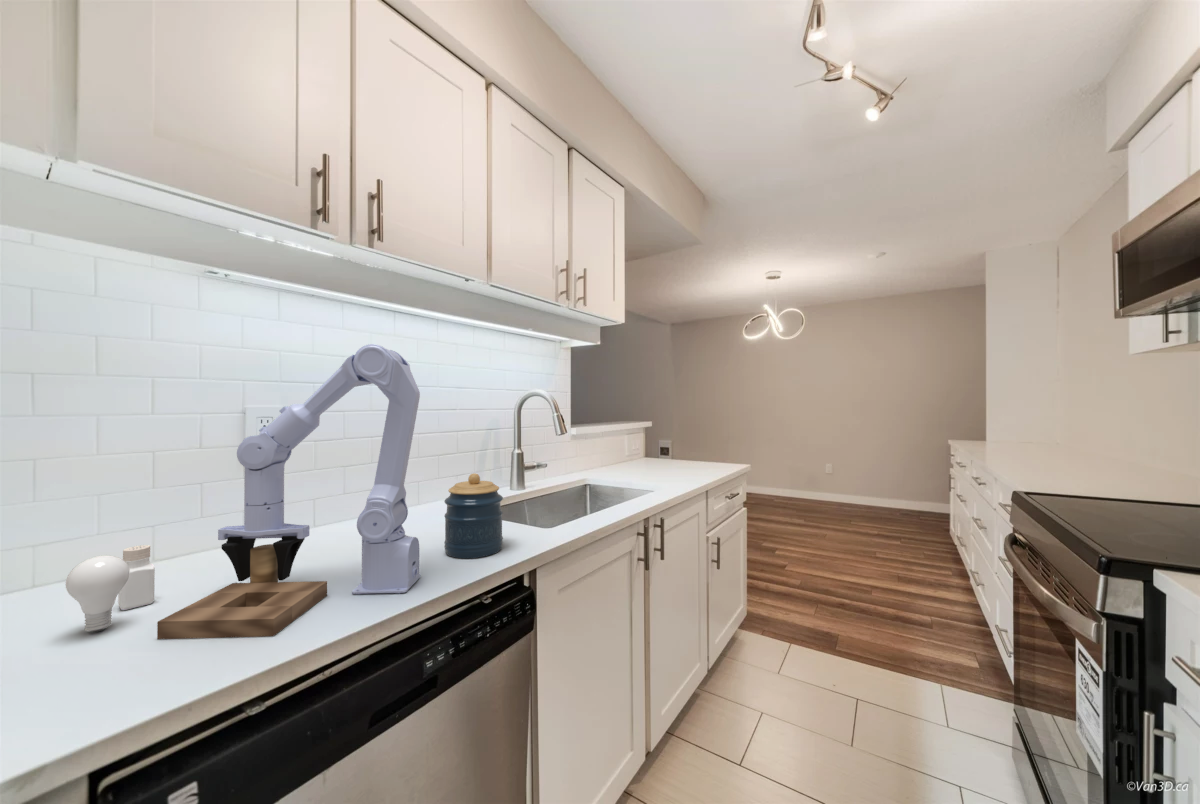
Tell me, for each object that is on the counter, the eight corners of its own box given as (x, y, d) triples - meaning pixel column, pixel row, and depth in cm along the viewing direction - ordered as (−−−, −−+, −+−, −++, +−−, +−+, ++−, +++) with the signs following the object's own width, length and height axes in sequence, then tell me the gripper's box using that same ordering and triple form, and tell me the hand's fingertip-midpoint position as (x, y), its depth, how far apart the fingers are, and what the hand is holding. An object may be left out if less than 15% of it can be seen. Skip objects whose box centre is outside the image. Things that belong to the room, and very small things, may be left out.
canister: (466, 539, 112) (466, 468, 112) (513, 544, 108) (513, 470, 108) (431, 556, 100) (432, 476, 100) (482, 562, 96) (482, 479, 96)
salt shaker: (151, 597, 78) (151, 542, 79) (154, 603, 76) (155, 547, 76) (117, 605, 75) (118, 548, 75) (120, 612, 73) (120, 553, 73)
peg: (283, 587, 83) (283, 543, 83) (268, 597, 79) (268, 550, 79) (260, 588, 82) (260, 544, 83) (244, 597, 78) (244, 551, 79)
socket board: (327, 595, 79) (327, 581, 79) (273, 636, 65) (273, 618, 65) (232, 597, 78) (232, 583, 78) (157, 639, 64) (157, 621, 64)
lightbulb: (61, 633, 66) (62, 558, 66) (123, 616, 71) (124, 547, 71) (69, 646, 62) (69, 566, 62) (134, 627, 68) (134, 554, 68)
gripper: (319, 497, 85) (318, 569, 85) (239, 498, 84) (238, 571, 84) (295, 505, 78) (295, 584, 78) (208, 506, 77) (207, 586, 77)
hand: (264, 578), depth 81 cm, fingers open, 6 cm apart
